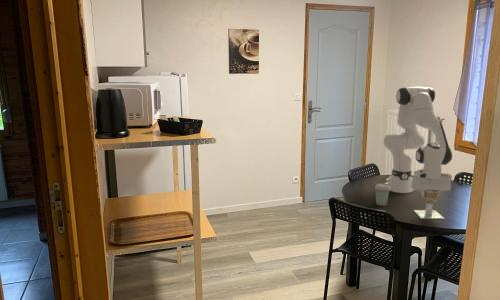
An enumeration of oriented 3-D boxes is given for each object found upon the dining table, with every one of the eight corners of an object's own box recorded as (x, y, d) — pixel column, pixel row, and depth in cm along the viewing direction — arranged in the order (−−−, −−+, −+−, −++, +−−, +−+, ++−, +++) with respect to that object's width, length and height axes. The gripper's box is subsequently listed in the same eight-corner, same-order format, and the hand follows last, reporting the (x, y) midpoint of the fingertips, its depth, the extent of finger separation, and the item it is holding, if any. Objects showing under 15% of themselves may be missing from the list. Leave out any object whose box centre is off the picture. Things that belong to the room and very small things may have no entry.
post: (413, 211, 215) (414, 199, 213) (435, 211, 214) (436, 199, 212) (421, 219, 203) (422, 206, 201) (444, 219, 202) (445, 206, 201)
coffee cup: (390, 206, 222) (391, 187, 219) (375, 206, 223) (376, 186, 221) (387, 202, 230) (388, 183, 227) (373, 201, 231) (374, 182, 229)
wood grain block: (423, 199, 209) (423, 188, 208) (432, 199, 209) (433, 188, 208) (426, 203, 204) (427, 191, 203) (436, 203, 204) (437, 191, 203)
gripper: (449, 172, 206) (446, 196, 209) (410, 171, 207) (409, 195, 210) (454, 175, 200) (452, 199, 202) (415, 174, 201) (413, 199, 204)
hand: (429, 197), depth 206 cm, fingers closed on wood grain block, 5 cm apart
